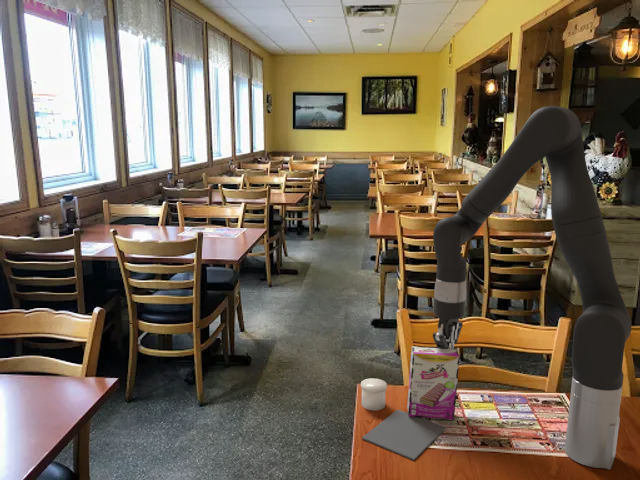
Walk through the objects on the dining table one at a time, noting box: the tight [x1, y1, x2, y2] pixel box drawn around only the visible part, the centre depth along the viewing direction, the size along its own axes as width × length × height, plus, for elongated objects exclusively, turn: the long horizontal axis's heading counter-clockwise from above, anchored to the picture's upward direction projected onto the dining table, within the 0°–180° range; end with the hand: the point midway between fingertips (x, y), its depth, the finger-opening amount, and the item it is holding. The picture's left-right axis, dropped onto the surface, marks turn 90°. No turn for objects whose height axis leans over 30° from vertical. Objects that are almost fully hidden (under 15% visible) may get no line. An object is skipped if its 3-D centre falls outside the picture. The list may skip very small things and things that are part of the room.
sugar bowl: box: [360, 377, 388, 411], centre depth 132 cm, size 7×7×6 cm
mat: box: [361, 409, 447, 461], centre depth 119 cm, size 13×16×1 cm
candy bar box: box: [406, 345, 461, 421], centre depth 126 cm, size 11×5×16 cm, turn 84°
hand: (446, 362), depth 131 cm, fingers closed
